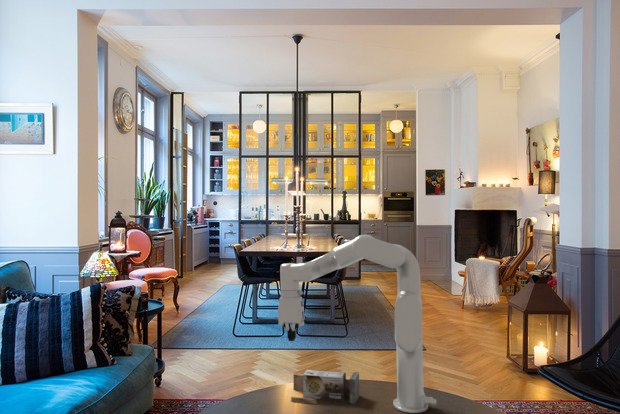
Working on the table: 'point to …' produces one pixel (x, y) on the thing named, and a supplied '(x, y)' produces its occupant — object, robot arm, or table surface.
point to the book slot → (351, 390)
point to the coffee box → (324, 385)
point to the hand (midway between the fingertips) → (291, 340)
